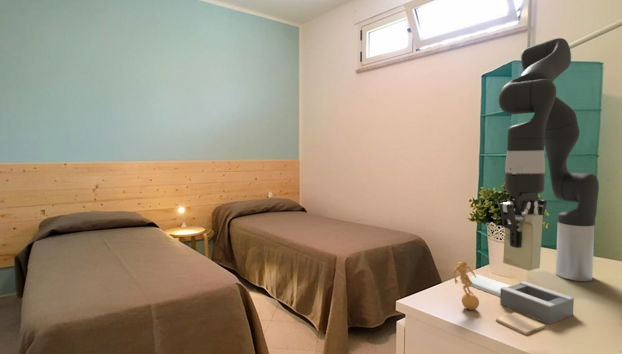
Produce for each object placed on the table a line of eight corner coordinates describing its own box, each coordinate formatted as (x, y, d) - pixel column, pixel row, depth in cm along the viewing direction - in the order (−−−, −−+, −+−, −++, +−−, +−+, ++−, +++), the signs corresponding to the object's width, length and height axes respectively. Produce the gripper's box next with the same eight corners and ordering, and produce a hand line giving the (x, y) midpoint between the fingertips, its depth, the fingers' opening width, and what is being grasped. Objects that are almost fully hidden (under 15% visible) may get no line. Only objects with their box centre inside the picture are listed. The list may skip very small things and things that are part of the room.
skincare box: (502, 263, 79) (503, 212, 78) (513, 260, 81) (515, 210, 80) (530, 271, 73) (532, 216, 72) (541, 268, 75) (543, 214, 74)
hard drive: (461, 278, 104) (500, 292, 93) (478, 274, 108) (517, 286, 97) (461, 284, 104) (500, 298, 93) (477, 279, 108) (517, 292, 97)
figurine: (467, 316, 82) (468, 268, 81) (446, 307, 87) (446, 261, 86) (487, 308, 86) (488, 262, 85) (465, 299, 91) (466, 256, 90)
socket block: (523, 296, 93) (524, 281, 93) (573, 314, 82) (573, 297, 82) (500, 303, 88) (500, 287, 88) (549, 323, 78) (549, 306, 77)
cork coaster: (514, 314, 82) (514, 312, 82) (545, 327, 76) (545, 324, 76) (496, 321, 79) (496, 318, 79) (526, 335, 73) (526, 332, 73)
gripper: (527, 169, 82) (525, 238, 83) (488, 171, 76) (486, 245, 77) (561, 170, 75) (558, 245, 76) (521, 172, 69) (519, 254, 70)
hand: (522, 245), depth 77 cm, fingers closed on skincare box, 4 cm apart
